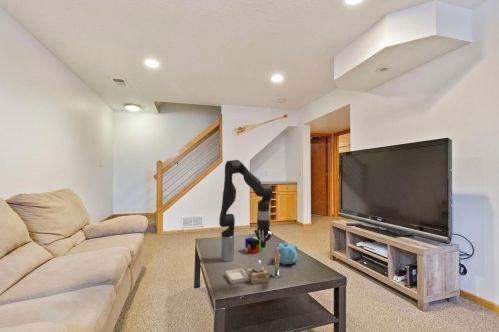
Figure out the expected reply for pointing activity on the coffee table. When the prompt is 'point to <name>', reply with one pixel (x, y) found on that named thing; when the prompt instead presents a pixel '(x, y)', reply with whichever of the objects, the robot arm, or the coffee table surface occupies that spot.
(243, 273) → the tray
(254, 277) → the block
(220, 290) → the coffee table surface
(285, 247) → the decorative pot
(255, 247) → the puzzle toy
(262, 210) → the robot arm
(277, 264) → the bar
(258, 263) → the silver metal cylinder
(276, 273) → the pivot post
